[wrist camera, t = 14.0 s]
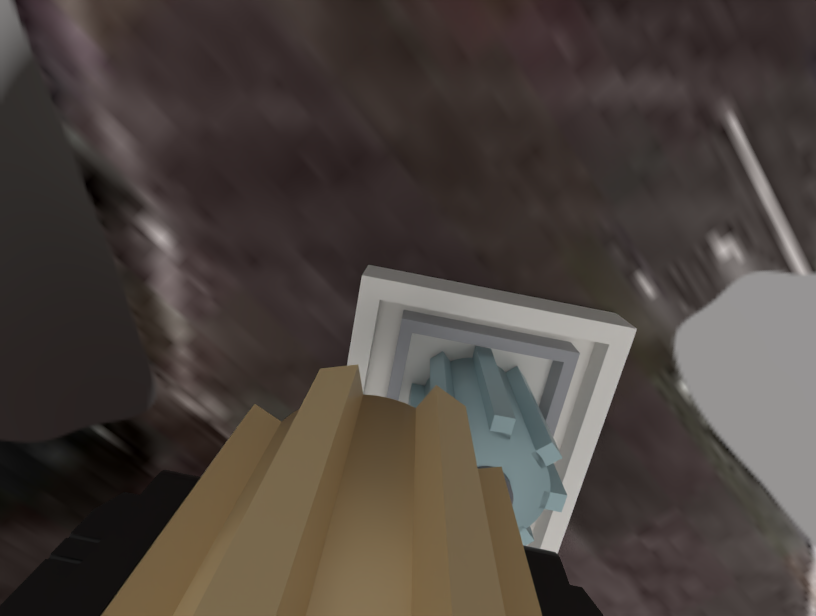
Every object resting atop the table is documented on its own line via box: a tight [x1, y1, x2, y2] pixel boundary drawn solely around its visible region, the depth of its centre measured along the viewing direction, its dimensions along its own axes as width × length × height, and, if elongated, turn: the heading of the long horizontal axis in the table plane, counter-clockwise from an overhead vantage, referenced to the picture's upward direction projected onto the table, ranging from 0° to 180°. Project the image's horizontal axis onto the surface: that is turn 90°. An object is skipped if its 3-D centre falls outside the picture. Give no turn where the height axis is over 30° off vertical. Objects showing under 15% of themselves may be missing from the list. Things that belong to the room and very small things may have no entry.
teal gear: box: [408, 346, 567, 546], centre depth 21 cm, size 6×6×8 cm
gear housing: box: [347, 265, 637, 554], centre depth 26 cm, size 20×13×2 cm, turn 169°
